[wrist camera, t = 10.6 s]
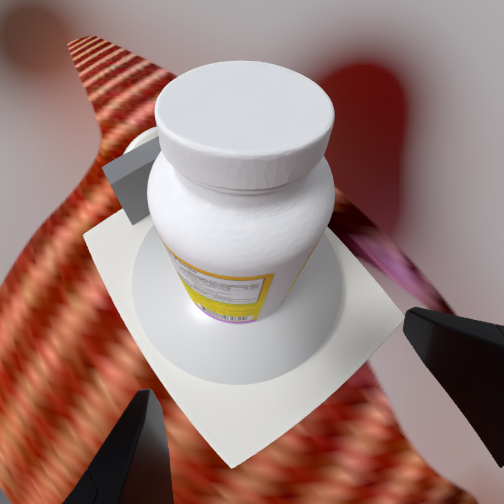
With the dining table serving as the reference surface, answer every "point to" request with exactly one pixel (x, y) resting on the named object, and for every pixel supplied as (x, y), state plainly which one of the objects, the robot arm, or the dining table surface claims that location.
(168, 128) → the supplement bottle
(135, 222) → the kitchen scale
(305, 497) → the dining table surface
